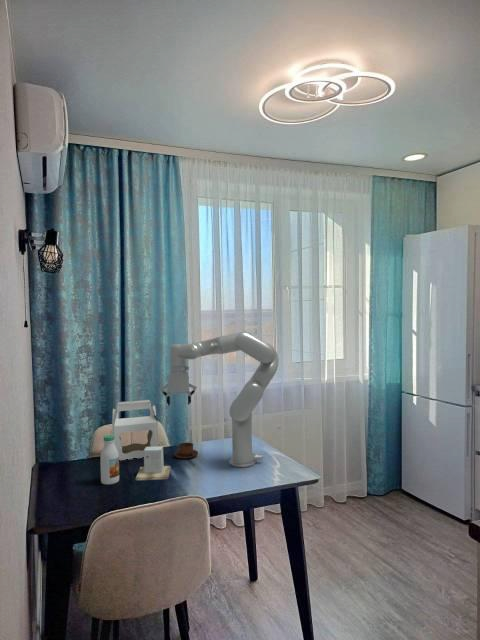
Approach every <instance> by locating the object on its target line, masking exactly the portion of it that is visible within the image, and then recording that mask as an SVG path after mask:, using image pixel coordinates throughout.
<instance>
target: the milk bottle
mask: <svg viewBox="0 0 480 640" xmlns="http://www.w3.org/2000/svg"><path fill="white" fill-rule="evenodd" d="M114 439H115V436H114V435H113V434H107V435H104V436H103V447H102V449H101V453H100V483H101V484H103V485H114V484H117V483H118V482H119V481H120V461H119V455H118V451H117V448H116V447H115V444H114V441H115V440H114Z"/></svg>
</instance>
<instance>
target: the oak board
mask: <svg viewBox="0 0 480 640" xmlns="http://www.w3.org/2000/svg"><path fill="white" fill-rule="evenodd" d="M171 469H172V467H171V465H164V469H163V471H162V473H144V466H140V467H139V470H138V472H137V475H136V477H135V481H153V480H154V481H155V480H169V477H170V474H171V473H170V472H171Z"/></svg>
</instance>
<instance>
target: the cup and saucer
mask: <svg viewBox="0 0 480 640" xmlns="http://www.w3.org/2000/svg"><path fill="white" fill-rule="evenodd" d="M173 454H174V457H176V458H178V459H192V458H195V457H196V456H197V455H199V451H198V450H195V449H194V443H193V442H181V443H179V444H178V450H176V451H175V452H174V453H173Z"/></svg>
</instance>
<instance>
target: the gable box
mask: <svg viewBox="0 0 480 640" xmlns="http://www.w3.org/2000/svg"><path fill="white" fill-rule="evenodd" d="M137 410H149V415H143V416H132V417H121V418H119V413H120V412H125V411H126V412H127V411H137ZM111 418H112V419H111V423H112V425H111V427H112V431H111V432H112V435H114V436H115V439H114V440H115V441H114V444H115V447H116V448H117V451H118V455H119V460H120V461H127V460H126V459H128V460H134V459H133V458H137V459H144V458H143V457H144V449H145V448H146V447H159V428H158V427H159V424H158V419H157V408H156V405H154V404H153V405H152V403H151V400H150V399H141V400H128V401H118V403H117V407H116V408H112V417H111ZM143 431H148V432H147V437H146V438H147V442H146V443H144V444H143V443H134V442H133V443H130V444H128V445H123V444H122V441H121V440H122V438H121V434H122V433H124V432H143Z"/></svg>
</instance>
